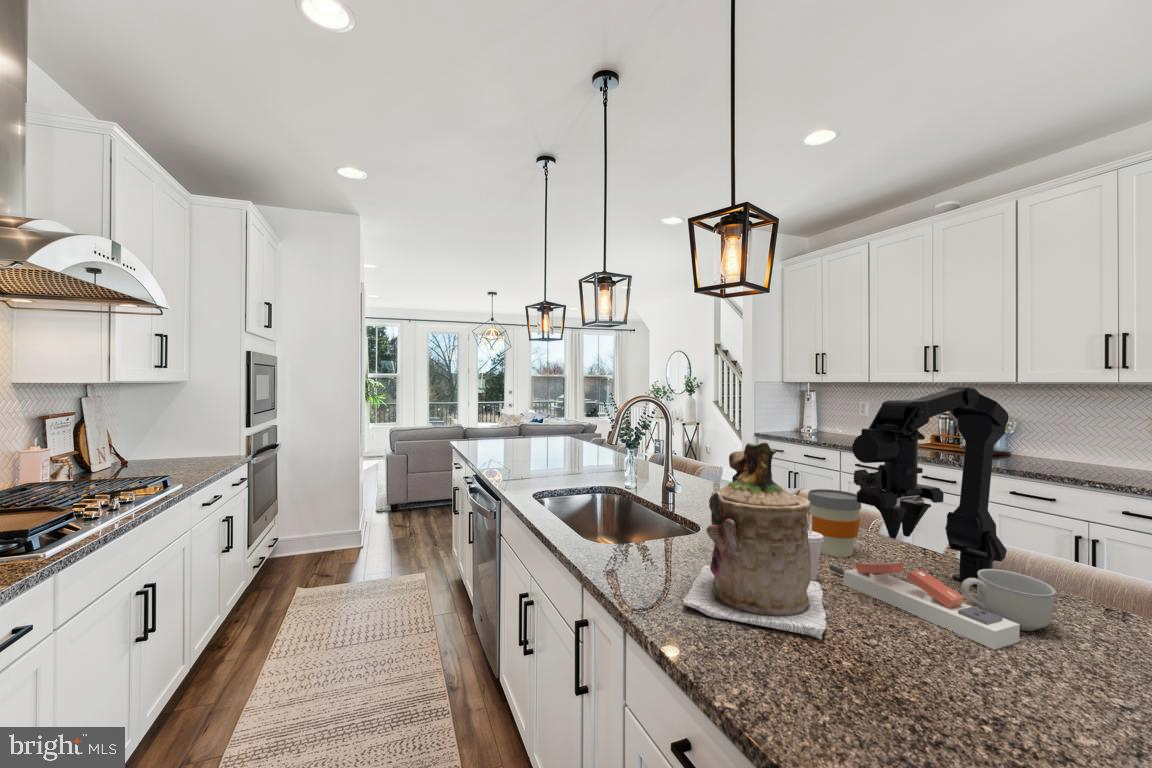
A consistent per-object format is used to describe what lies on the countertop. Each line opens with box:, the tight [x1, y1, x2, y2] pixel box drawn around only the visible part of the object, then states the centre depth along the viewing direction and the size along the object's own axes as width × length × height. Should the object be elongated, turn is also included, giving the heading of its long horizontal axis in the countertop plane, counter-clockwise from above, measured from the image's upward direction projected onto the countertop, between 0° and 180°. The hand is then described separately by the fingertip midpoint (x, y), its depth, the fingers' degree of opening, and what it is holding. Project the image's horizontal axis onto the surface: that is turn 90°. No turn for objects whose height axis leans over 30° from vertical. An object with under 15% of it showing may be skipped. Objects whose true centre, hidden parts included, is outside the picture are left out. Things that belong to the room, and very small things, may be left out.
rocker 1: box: [855, 561, 905, 574], centre depth 103 cm, size 4×8×2 cm, turn 22°
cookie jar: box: [683, 441, 828, 641], centre depth 97 cm, size 25×25×32 cm
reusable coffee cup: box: [807, 488, 862, 558], centre depth 128 cm, size 13×13×15 cm
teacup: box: [960, 568, 1057, 632], centre depth 90 cm, size 14×11×8 cm
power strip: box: [829, 564, 1021, 651], centre depth 97 cm, size 7×34×4 cm, turn 22°
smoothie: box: [807, 515, 824, 581], centre depth 110 cm, size 6×6×14 cm
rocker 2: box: [906, 569, 965, 608], centre depth 92 cm, size 4×8×2 cm, turn 22°
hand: (899, 537), depth 101 cm, fingers open, 4 cm apart
